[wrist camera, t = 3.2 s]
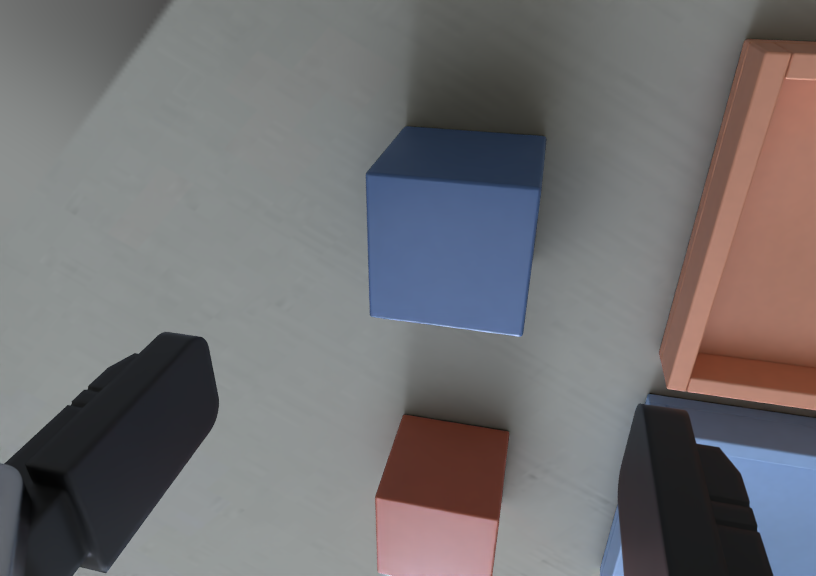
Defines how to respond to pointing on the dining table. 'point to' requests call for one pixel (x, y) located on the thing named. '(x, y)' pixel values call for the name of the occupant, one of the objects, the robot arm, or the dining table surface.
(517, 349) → the dining table surface
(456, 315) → the blue block
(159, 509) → the dining table surface
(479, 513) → the terracotta block
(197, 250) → the dining table surface
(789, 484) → the blue tray
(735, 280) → the clay tray
